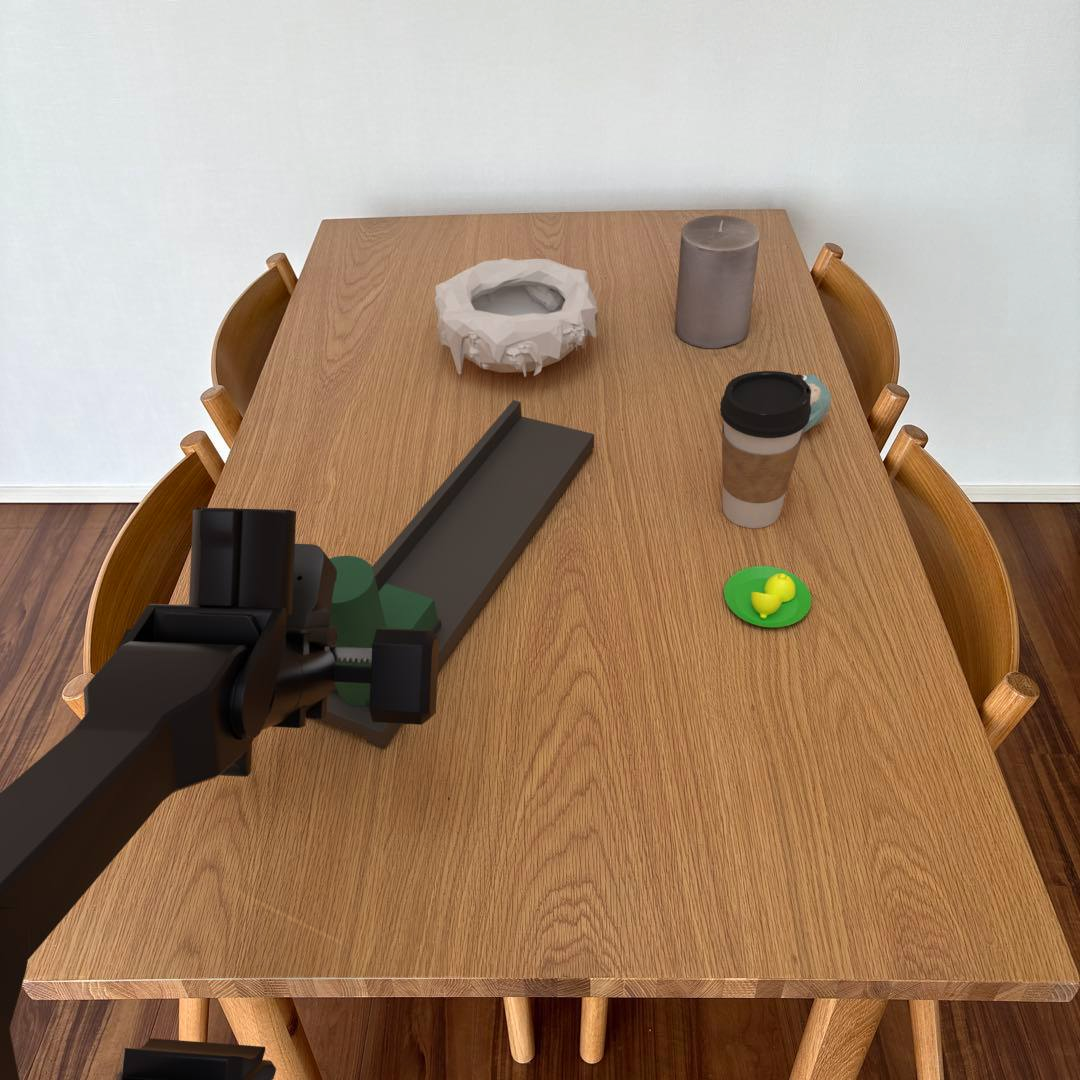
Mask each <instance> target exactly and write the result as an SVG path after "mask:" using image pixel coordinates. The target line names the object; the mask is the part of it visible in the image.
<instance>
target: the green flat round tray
mask: <svg viewBox="0 0 1080 1080" xmlns="http://www.w3.org/2000/svg"><path fill="white" fill-rule="evenodd" d="M723 596H724V600H725V602H726V605H727V606H728V608H729V609H730V610H731V611H732V613H733V614H735V615H736V616H737V617H738V618H740V619H742V620H743V621H744V622H747V623H749V624H752V625H756V626H759V627H762V628H763V627H765V628H782V627H788V626H791V625H793V624H796V623H798V622H800V621H801V620H802V619H804V617H806V616H807V614H808V612H810V609H811V606H812V596H811V592H810V590H809V588H808V586H807V585H806V583H804V582H803V580H802V579H800V578H799V577H798V576H797V575H795V574H793V573H791V572H789V571H787V570H786V569H783V568H779V567H775V566H767V565H756V566H755V565H754V566H750V567H745V568H743V569H741V570H739V571H737V572H735V573H733V575H732V576H730V577H729V579H728V580H727V581H726V584H725V586H724V593H723Z"/></svg>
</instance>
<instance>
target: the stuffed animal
mask: <svg viewBox="0 0 1080 1080" xmlns="http://www.w3.org/2000/svg"><path fill="white" fill-rule="evenodd" d="M785 372H786V373H790V372H789V371H785ZM795 375H797V376H798V377H800V378H802V379H803V380H804V381H805V382H806V383H807V384H808V386H809V387H810V389H811V398H810V405H811V414H810V419H809V421H808V423H807V425H806V426H805V427H804V428H803V429H802V432H803V434H804V433H806V432H808V431H809V430H810V429H811V428H813V427H815V426H818V425H820V424H821V423H822V422H823V421H824V420H825V419H826V418H827V416H828V414H829V412H830V410H831V406H832V395H831V392H830V390H829V388H828V387H827V386H826V385H825V384H824V382H823V381H822V380H820V379H819V377H818V376H817V375H815V374H813V373H809V374H805V373H803V374H801V373H796V374H795Z"/></svg>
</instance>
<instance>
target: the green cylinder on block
mask: <svg viewBox="0 0 1080 1080" xmlns="http://www.w3.org/2000/svg"><path fill="white" fill-rule="evenodd" d="M329 559H330V561H331V562H332V563H333V565H334V566H335V567H336V570H337V578H336V582H335V584H334V591H333V597H332V603H331V609H330V626H334V627H338V631H337V645H336V646H335V647H358V648H372V643H373V640H374V636H375V633H376V629H380V628H398V629H422V630H432V631H433V632H434V633H435V634H436V633H437V631H438V630H439V629H440V627H441V620H439V619H437V613H436V608H435V602H434V599H432V598H429V597H426V596H423V595H420V594H417V593H414V592H411V591H408V590H405V589H402V588H399V587H396V586H393V585H390V584H385V585H384V586H383V587H382V589H381V590H380V591H379V592H378V588H377V584H376V579H375V575H374V570H373V568H372V565H371V564H370V563H369V562H368V561H367V560H366V559H363V558H362V557H360V556H359V557H358V556H355V555H338V556H333V557H331V558H330V557H329ZM335 663H336V665H349V666H370V667H371V663H369V660H368V661H367V663H364V662H363V659H362V661H361V663H358V661H357V659H356V662H354V663H352V660H350V662H346V658H345V660H344V662H341V660H340V658H339V661H338V662H335ZM370 684H371V683H352V682H335V685H334V687H333V690H332V692H331V693H334V694H337V695H339V696H340V697H341V698H342V699H343V700H344V701H345V702H347V703H349V704H351V705H355V706H368V707H369V706H370Z"/></svg>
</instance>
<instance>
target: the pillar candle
mask: <svg viewBox="0 0 1080 1080" xmlns="http://www.w3.org/2000/svg"><path fill="white" fill-rule="evenodd" d="M760 239H761V231H760V229H759V227H758V226H757V225H756V224H755V223H754V222H752V221H749V220H747V219H746V218H741V217H738V216H737V217H736V216H731V215H723V214H722V215H721V214H720V215H718V214H713V215H706V216H701V217H697V218H694V219H691V220H689V221H688V222H686V223H685V224H684V225H683V226H682V227H681V231H680V246H679V247H680V248H679V258H678V259H679V261H678V275H677V288H676V289H677V290H676V302H675V303H676V304H675V318H674V332H675V335H677V336H678V338H679V339H680V340H681V341H683V342H685V343H687V344H689V345H691V346H695V347H699V348H704V349H713V350H715V349H722V348H724V347H728V346H732V345H736V344H739V343H741V342H742V341H744V340H745V339H746V337H747V336H748V334H749V330H750V323H751V317H752V307H753V306H752V304H753V299H754V289H755V277H756V272H757V264H758V257H759V256H758V255H759V247H760Z"/></svg>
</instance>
